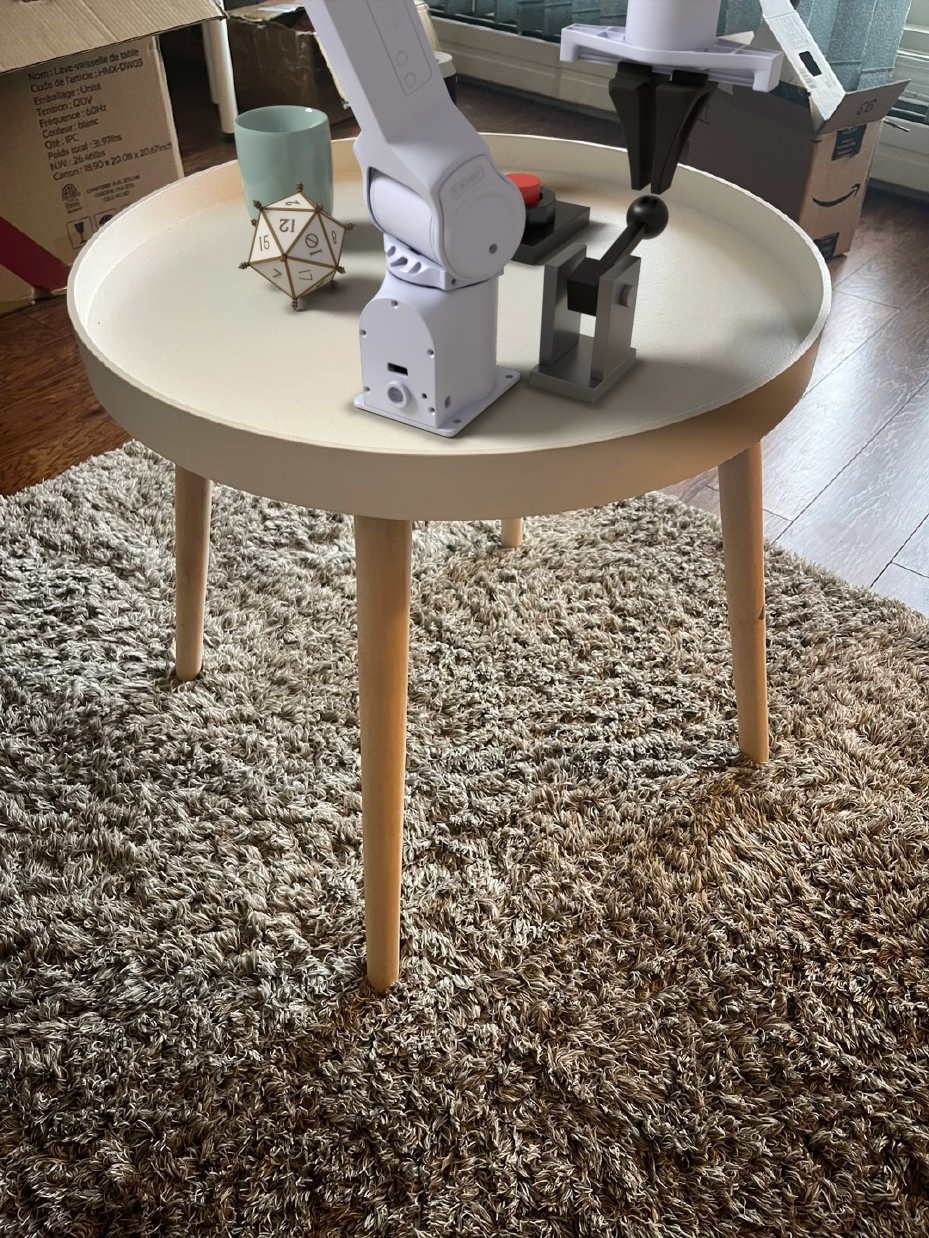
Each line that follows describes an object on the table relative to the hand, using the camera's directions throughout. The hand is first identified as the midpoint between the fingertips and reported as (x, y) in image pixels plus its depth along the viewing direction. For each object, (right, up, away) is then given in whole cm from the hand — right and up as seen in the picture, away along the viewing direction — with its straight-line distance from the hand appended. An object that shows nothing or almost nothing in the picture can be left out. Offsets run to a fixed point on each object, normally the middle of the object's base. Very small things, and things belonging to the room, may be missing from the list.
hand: (650, 188), depth 70 cm
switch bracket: (-5, -13, +1) cm, 14 cm away
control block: (-8, +5, +21) cm, 23 cm away
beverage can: (-17, +12, +29) cm, 35 cm away
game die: (-26, -4, +11) cm, 29 cm away
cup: (-28, +4, +20) cm, 35 cm away
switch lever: (-2, -6, 0) cm, 6 cm away
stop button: (-8, +7, +19) cm, 21 cm away
